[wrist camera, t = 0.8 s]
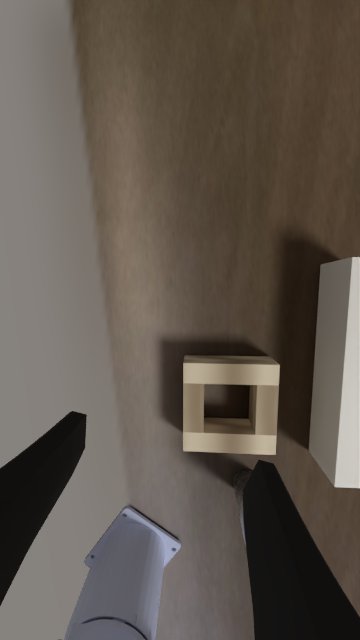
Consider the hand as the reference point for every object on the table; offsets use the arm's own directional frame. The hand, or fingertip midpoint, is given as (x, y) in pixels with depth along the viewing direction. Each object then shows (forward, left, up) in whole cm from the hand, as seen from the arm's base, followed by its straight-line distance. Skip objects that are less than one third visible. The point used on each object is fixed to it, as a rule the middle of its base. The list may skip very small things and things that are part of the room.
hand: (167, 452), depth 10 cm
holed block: (-1, -6, -16) cm, 18 cm away
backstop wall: (+8, -12, -16) cm, 22 cm away
